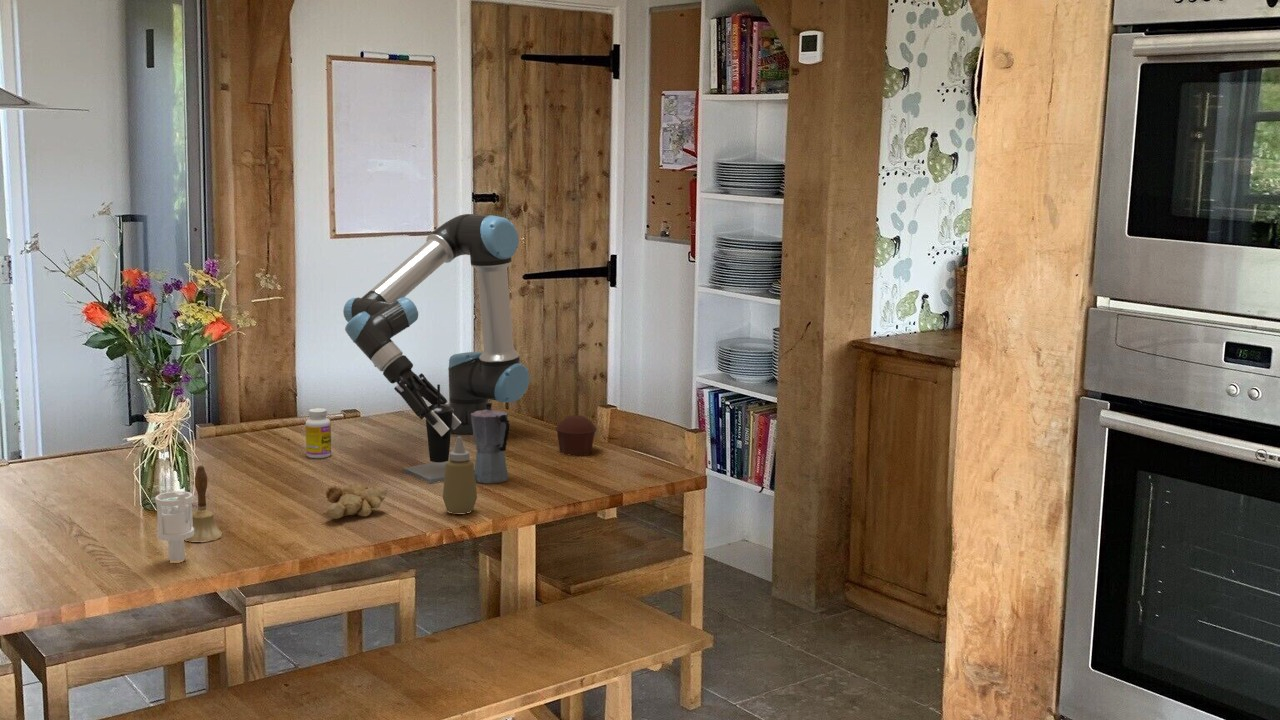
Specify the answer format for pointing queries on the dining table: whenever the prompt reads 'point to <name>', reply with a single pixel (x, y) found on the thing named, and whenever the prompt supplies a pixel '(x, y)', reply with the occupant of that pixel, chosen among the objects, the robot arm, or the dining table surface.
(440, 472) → the slate coaster
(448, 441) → the drinking cup
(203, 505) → the hand bell
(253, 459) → the dining table surface
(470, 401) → the robot arm
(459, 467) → the squeeze bottle
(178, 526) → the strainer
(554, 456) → the dining table surface
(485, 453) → the moka pot
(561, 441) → the muffin
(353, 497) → the ginger root
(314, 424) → the supplement bottle
